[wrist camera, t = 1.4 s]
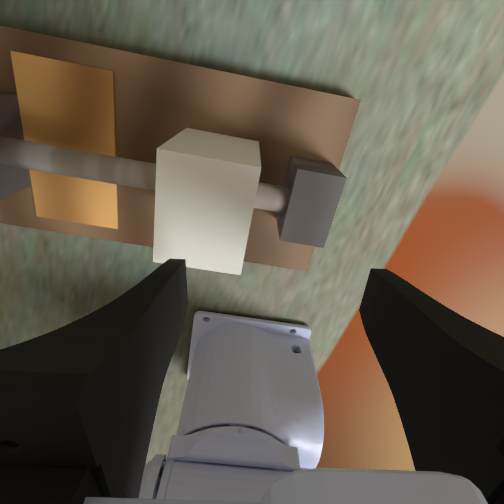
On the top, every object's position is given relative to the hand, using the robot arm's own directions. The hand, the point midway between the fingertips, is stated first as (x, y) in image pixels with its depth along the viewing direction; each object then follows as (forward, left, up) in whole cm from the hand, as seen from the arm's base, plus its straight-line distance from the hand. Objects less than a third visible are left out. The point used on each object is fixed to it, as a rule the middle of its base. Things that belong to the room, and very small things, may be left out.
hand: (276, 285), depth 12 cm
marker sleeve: (+3, -1, -8) cm, 9 cm away
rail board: (+7, -1, -10) cm, 12 cm away
